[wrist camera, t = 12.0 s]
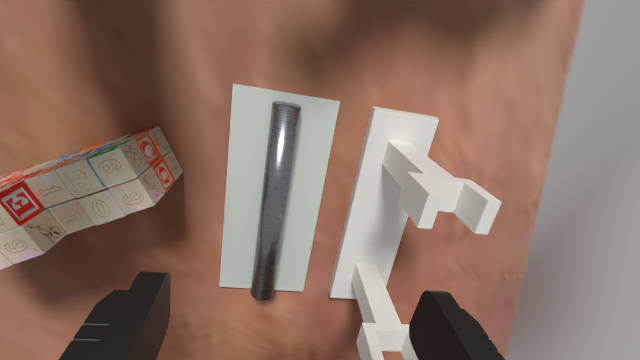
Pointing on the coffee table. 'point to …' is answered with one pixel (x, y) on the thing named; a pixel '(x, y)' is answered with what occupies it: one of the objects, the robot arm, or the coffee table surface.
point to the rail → (274, 196)
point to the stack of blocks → (82, 192)
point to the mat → (247, 184)
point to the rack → (396, 219)
